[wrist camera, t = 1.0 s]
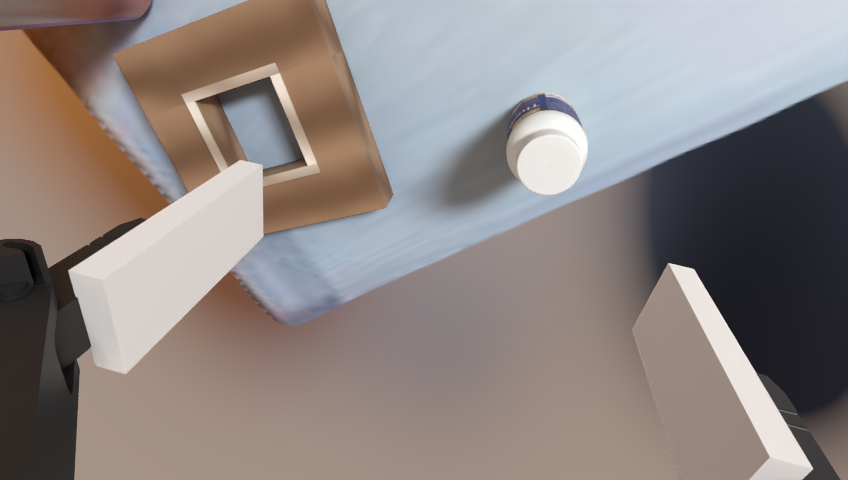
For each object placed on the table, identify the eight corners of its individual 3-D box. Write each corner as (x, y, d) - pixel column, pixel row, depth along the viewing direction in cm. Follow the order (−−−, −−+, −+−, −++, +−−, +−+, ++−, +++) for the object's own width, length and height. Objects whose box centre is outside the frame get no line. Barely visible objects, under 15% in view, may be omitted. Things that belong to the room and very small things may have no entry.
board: (138, 50, 40) (110, 54, 37) (318, -20, 35) (300, -21, 32) (233, 229, 47) (215, 244, 45) (393, 194, 42) (384, 209, 39)
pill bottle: (529, 79, 35) (532, 107, 27) (590, 109, 36) (612, 147, 27) (496, 140, 38) (489, 183, 30) (553, 168, 38) (563, 219, 30)
